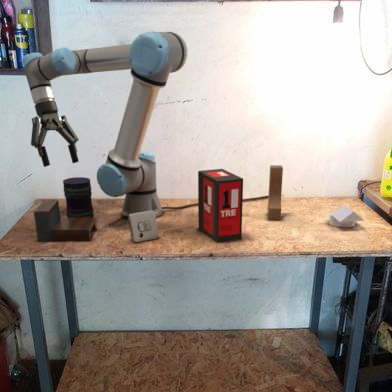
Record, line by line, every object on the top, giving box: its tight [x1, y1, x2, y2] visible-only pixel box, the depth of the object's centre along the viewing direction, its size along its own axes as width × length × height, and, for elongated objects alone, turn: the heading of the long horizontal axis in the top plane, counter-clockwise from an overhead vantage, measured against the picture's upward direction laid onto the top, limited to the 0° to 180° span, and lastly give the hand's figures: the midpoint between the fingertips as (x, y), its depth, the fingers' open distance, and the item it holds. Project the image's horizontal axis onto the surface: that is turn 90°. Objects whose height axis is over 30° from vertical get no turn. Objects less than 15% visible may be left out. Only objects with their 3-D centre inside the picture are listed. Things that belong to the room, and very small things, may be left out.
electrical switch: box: [127, 210, 160, 243], centre depth 192 cm, size 9×5×9 cm, turn 121°
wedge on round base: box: [329, 204, 365, 228], centre depth 203 cm, size 9×7×13 cm
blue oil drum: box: [62, 176, 95, 218], centre depth 209 cm, size 10×10×15 cm
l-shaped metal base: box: [33, 199, 97, 242], centre depth 196 cm, size 18×14×10 cm
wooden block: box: [267, 164, 284, 221], centre depth 211 cm, size 9×4×18 cm, turn 176°
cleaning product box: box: [197, 168, 244, 244], centre depth 193 cm, size 16×9×20 cm, turn 22°
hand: (61, 164), depth 206 cm, fingers open, 13 cm apart
